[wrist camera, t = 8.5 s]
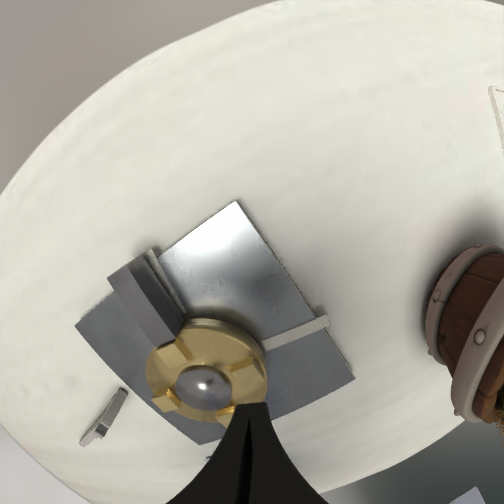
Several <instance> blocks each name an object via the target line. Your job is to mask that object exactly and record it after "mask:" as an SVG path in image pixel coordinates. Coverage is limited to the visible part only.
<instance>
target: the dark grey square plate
mask: <svg viewBox="0 0 504 504" xmlns="http://www.w3.org/2000/svg"><path fill="white" fill-rule="evenodd" d="M142 255H143V256H144V258H145V260H146V261H147V263H148V264H149V266H150V268H151V269H152V271H153V272H154V274H155V276H156V277H157V279H158V280H159V282H160V283H161V285H162V286H163V288H164V289H165V291H166V292H167V294H168V295H169V297H170V298H171V300H172V301H173V303H174V304H175V306H176V307H177V309H178V310H179V312H180V313H181V314H182V316H183V317H184V319H185V320H188V319H196V318H206V319H214V320H219V321H223V322H226V323H229V324H231V325H233V326H236V327H238V328H239V329H241V330H243V331H244V332H246V333H247V334H248V335H250V336H251V337H252V338H253V339H254V340H255V341H256V343H257V344H258V345H259V346H260V348H261V350H262V352H263V354H264V357H265V360H266V369H267V393H266V396H265V399H264V400H263V402H266V403H267V405H268V409H269V414H270V419H271V421H272V420H274V419H277V418H279V417H281V416H284V415H286V414H288V413H290V412H293V411H295V410H297V409H299V408H301V407H303V406H306V405H308V404H310V403H312V402H314V401H316V400H318V399H320V398H322V397H324V396H326V395H328V394H329V393H331V392H333V391H335V390H337V389H339V388H340V387H342V386H344V385H346V384H348V383H349V382H351V381H353V380H355V379H356V378H355V376H354V374H353V372H352V370H351V369H350V367H349V366H348V364H347V362H346V361H345V359H344V358H343V356H342V355H341V353H340V352H339V350H338V349H337V347H336V346H335V344H334V343H333V341H332V340H331V338H330V337H329V335H328V333H327V332H326V330H325V329H324V328H325V327H327V326H329V325H330V322H329V319H328V316H327V314H325V315H322V316H320V317H318V318H317V317H316V315H315V314H314V312H313V311H312V309H311V308H310V306H309V305H308V303H307V302H306V300H305V299H304V297H303V296H302V294H301V293H300V291H299V290H298V289H297V287H296V286H295V284H294V283H293V281H292V280H291V278H290V277H289V275H288V274H287V272H286V271H285V269H284V268H283V266H282V265H281V263H280V262H279V261H278V259H277V258H276V256H275V255H274V253H273V252H272V250H271V249H270V247H269V246H268V244H267V243H266V242H265V240H264V239H263V237H262V236H261V234H260V233H259V231H258V230H257V229H256V227H255V226H254V224H253V223H252V221H251V220H250V218H249V217H248V216H247V214H246V213H245V211H244V210H243V208H242V207H241V206H240V204H239V203H238V201H237V200H235V201H234V202H233V203H231V204H230V205H228V206H227V207H225V208H224V209H223V210H221V211H220V212H218V213H217V214H216V215H214V216H213V217H211V218H210V219H209V220H207V221H206V222H204V223H203V224H202V225H200V226H199V227H197V228H196V229H195V230H193V231H192V232H191V233H189V234H188V235H187V236H185V237H184V238H182V239H181V240H180V241H178V242H177V243H176V244H174V245H173V246H172V247H170V248H169V249H168V250H166V251H165V252H164V253H163V254H161V255H160V256H159V257H157V258H156V256H155V254H154V252H153V250H152V249H150V250H148V251H146V252H145V253H143V254H142ZM137 257H138V256H137ZM75 327H76V329H77V330H78V331H79V332H80V334H81V335H82V336H83V337H84V339H85V340H86V341H87V342H88V343H89V345H90V346H91V347H92V348H93V349H94V350H95V352H96V353H97V354H98V355H99V356H100V357H101V358H102V359H103V361H104V362H105V363H106V364H107V365H108V366H109V367H110V368H111V369H112V370H113V371H114V372H115V373H116V374H117V375H118V376H119V377H120V378H121V379H122V380H123V381H124V382H125V383H126V384H127V385H128V386H129V387H130V388H131V389H132V390H133V391H134V392H135V393H136V394H137V395H138V396H139V397H140V398H141V399H142V400H144V401H145V402H146V403H147V404H148V405H149V406H150V407H151V408H153V409H154V410H155V411H156V412H157V413H158V414H160V415H161V416H162V417H163V418H164V419H166V420H167V421H168V422H169V423H171V424H172V425H173V426H174V427H176V428H177V429H178V430H179V431H181V432H182V433H183V434H185V435H186V436H187V437H189V438H190V439H191V440H193V441H194V442H196V443H197V444H198V445H202V444H205V443H209V442H212V441H216V440H219V439H222V438H223V436H224V434H225V432H226V430H227V428H225V427H224V426H223V425H222V424H221V423H209V422H202V421H197V420H193V419H190V418H187V417H185V416H182V415H180V414H178V413H176V412H174V411H173V410H172V411H168V412H163V411H162V410H161V409H160V408H159V407H158V406H157V405H156V404H155V403H154V402H153V401H152V400H151V398H152V396H153V392H152V390H151V388H150V386H149V384H148V382H147V379H146V373H145V367H146V361H147V359H148V356H149V354H150V353H151V351H152V349H153V347H154V345H153V344H152V343H151V341H150V340H149V339H148V337H147V336H146V335H145V333H144V332H143V331H142V329H141V328H140V327H139V325H138V324H137V322H136V321H135V320H134V318H133V317H132V315H131V314H130V313H129V311H128V310H127V308H126V307H125V305H124V304H123V302H122V301H121V299H120V298H119V296H118V295H117V293H116V292H115V291H114V292H113V293H112V294H111V295H110V296H108V297H107V298H106V299H105V300H104V301H102V302H101V303H100V304H99V305H98V306H96V307H95V308H94V309H93V310H92V311H91V312H89V313H88V314H87V315H86V316H85V317H84V318H82V319H81V320H80V321H79V322H78V323H77V324H76V325H75Z"/></svg>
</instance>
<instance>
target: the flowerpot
mask: <svg viewBox="0 0 504 504" xmlns="http://www.w3.org/2000/svg"><path fill="white" fill-rule="evenodd" d="M425 336H426V341H427V344H428V347H429V350H428V354H429V355H433V357H434V359H435V360H436V361H437V362H438V363H440V364H442V365H446V366H447V368H448V370H449V372H450V374H451V376H452V378H453V381H452V386H451V400H452V403H453V406H454V408H455V410H454V415H456V416H459V415H461V416H462V417H463V418H464V419H465V420H467V421H469V422H480V421H484V422H486V423H489V424H490V423H493V422H496V423H497V422H499V421H501V420H502V422H500V423H501V425H502V424H503V425H504V250H503V249H501V248H499V247H497V246H493V245H481V244H479V243H477V244H476V245H475V246H474V247H471V248H469V249H467V250H465V251H464V252H463V253H461V254H460V255H458V256H456V257H455V258H453V259H452V260H451V262H450V263H449V267H447V268H445V269H444V270H443V271H442V272H441V274H440V275H439V277H438V278H437V280H436V282H435V285H434V288H433V289H432V291H431V292H430V295H429V297H428V301H427V306H426V317H425ZM500 423H499V425H500ZM496 428H497V427H496ZM499 429H500V427H499ZM501 429H504V427H503V428H502V426H501ZM502 432H504V430H503V431H502ZM500 433H501V432H500ZM500 436H501V435H500ZM503 442H504V441H503ZM503 446H504V445H503Z"/></svg>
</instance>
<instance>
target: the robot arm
mask: <svg viewBox="0 0 504 504" xmlns="http://www.w3.org/2000/svg"><path fill="white" fill-rule="evenodd" d="M205 462H206V465H205V466H204V467H203V469H202V470H201V471H200V472H199V473H198V474H197V476H196V477H195V478H194V479H193V480H192V481H191V482H190V483H189V484H188V485H187V486H186V487H185V488H184V489H183V490H182V491H181V492H180V493H178V494H177V495H176V496H175V497H174V498H172V499H171V500H170V501H168V502H167V503H166V504H328V502H326V501H325V500H324V499H323V498H322V497H321V496H320V495H319V494H318V493H317V492H316V491H315V490H314V489H313V488H312V487H311V486H310V485H309V483H308V482H307V481H306V480H305V479H304V478H303V476H302V475H301V474H300V473H299V471H298V470H297V469H296V467H295V466H294V464H293V463H292V462H291V460H290V459H289V457H288V455H287V454H286V452H285V450H284V449H283V447H282V445H281V443H280V441H279V439H278V437H277V435H276V433H275V431H274V428H273V426H272V423H271V419H270V414H269V409H268V405H267V403H266V402H257V403H247V404H238V405H236V407H235V410H234V413H233V416H232V418H231V421H230V423H229V425H228V428H227V430H226V432H225V434H224V436H223V438H222V440H221V441H220V443H219V445H218V446H217V448H216V450H215V451H214V453H213V455H212V456H211V458H207V459H206V460H205ZM449 504H485V502H484V500H483V498H482V496H481V495H480V492H479V491H478V489H477V487H474V488H473V489H471V490H470V491H468V492H466V493H465V494H464V495H462V496H460V497H458V498H457V499H455V500H454V501H452V502H451V503H449Z"/></svg>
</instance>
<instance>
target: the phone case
mask: <svg viewBox="0 0 504 504" xmlns="http://www.w3.org/2000/svg"><path fill="white" fill-rule="evenodd" d="M495 90H500V91H504V88H500V87H495V86H491V87H488V94H489V98H490V101H491V104H492V107H493V111H494V114H495V118H496V122H497V126H498V130H499V135H500V139H501V144H502V150H503V155H504V123H503V119H502V115H501V111H500V108H499V104H498V101H497V98H496V94H495Z"/></svg>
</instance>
